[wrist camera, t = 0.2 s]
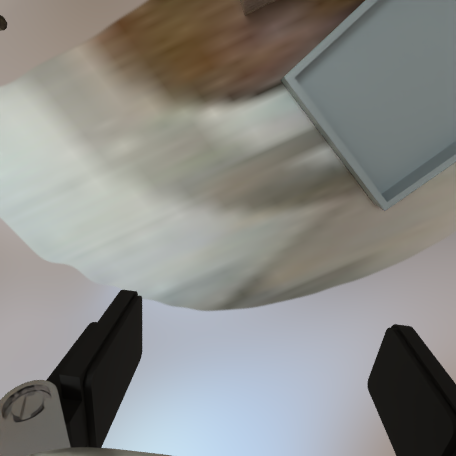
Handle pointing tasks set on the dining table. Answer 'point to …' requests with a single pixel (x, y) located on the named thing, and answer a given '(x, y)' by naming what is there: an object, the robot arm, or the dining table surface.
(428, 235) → the dining table surface
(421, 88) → the tray
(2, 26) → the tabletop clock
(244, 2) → the silver metal block
